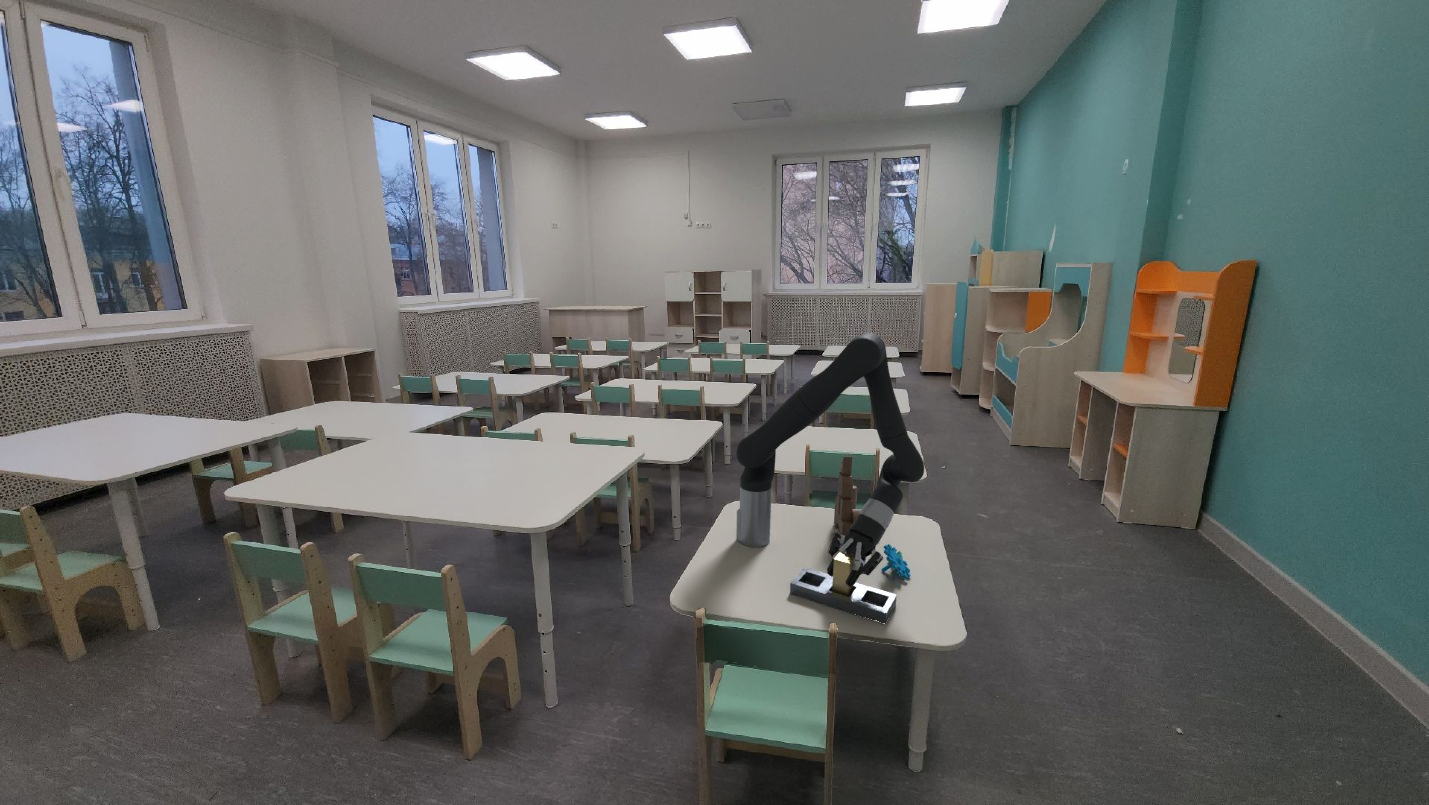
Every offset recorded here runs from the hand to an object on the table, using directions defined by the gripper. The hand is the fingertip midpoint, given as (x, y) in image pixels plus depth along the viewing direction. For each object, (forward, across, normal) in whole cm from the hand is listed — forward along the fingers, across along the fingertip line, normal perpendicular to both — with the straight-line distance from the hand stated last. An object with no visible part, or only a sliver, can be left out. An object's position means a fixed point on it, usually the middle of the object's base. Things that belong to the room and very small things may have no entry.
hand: (838, 579), depth 140 cm
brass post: (+2, 0, +5) cm, 5 cm away
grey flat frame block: (+3, 0, +6) cm, 6 cm away
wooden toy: (-18, -23, +27) cm, 40 cm away
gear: (-12, +1, +21) cm, 24 cm away
